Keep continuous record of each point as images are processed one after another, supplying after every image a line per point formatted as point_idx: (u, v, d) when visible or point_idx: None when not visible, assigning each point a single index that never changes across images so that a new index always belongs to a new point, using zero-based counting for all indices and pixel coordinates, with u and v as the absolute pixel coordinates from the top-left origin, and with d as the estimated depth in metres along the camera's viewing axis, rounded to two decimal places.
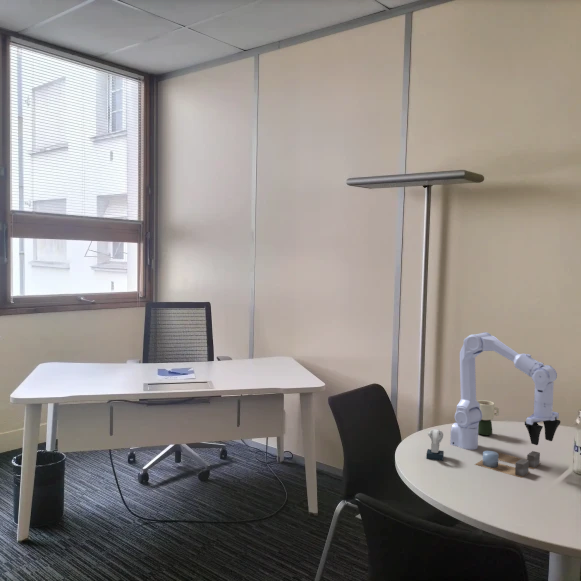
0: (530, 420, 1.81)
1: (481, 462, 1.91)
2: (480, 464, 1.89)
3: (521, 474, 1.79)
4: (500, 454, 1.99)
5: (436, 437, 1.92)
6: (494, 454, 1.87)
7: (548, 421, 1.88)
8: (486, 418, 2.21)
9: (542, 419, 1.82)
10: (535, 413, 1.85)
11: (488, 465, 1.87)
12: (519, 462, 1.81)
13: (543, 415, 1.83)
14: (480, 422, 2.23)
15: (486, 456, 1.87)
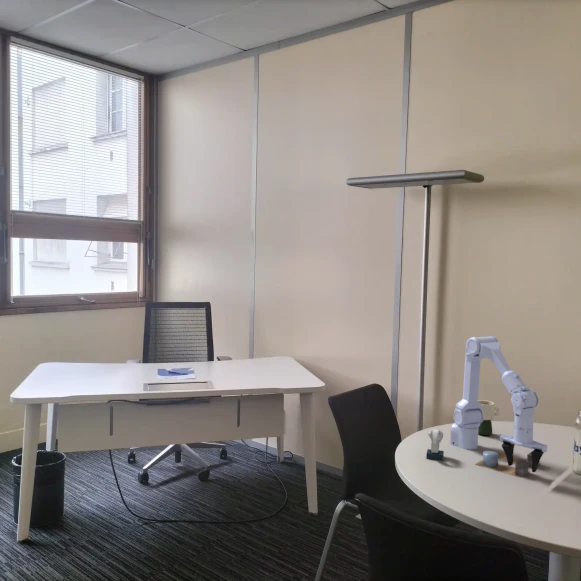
0: None
1: (481, 462, 1.91)
2: (480, 464, 1.89)
3: (521, 474, 1.79)
4: (500, 454, 1.99)
5: (436, 437, 1.92)
6: (494, 454, 1.87)
7: None
8: (486, 418, 2.21)
9: (510, 440, 1.82)
10: None
11: (488, 465, 1.87)
12: (519, 462, 1.81)
13: (514, 438, 1.81)
14: None
15: (486, 456, 1.87)
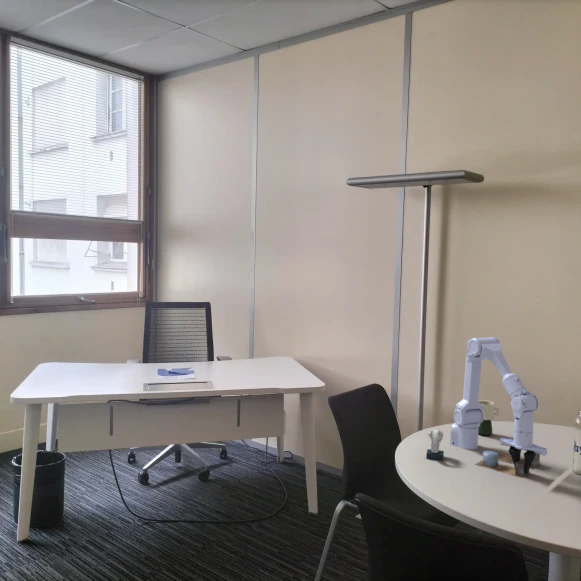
0: None
1: (481, 462, 1.91)
2: (480, 464, 1.89)
3: (521, 474, 1.79)
4: (500, 454, 1.99)
5: (436, 437, 1.92)
6: (494, 454, 1.87)
7: None
8: (486, 418, 2.21)
9: (510, 444, 1.82)
10: None
11: (488, 465, 1.87)
12: (519, 462, 1.81)
13: (514, 441, 1.81)
14: None
15: (486, 456, 1.87)
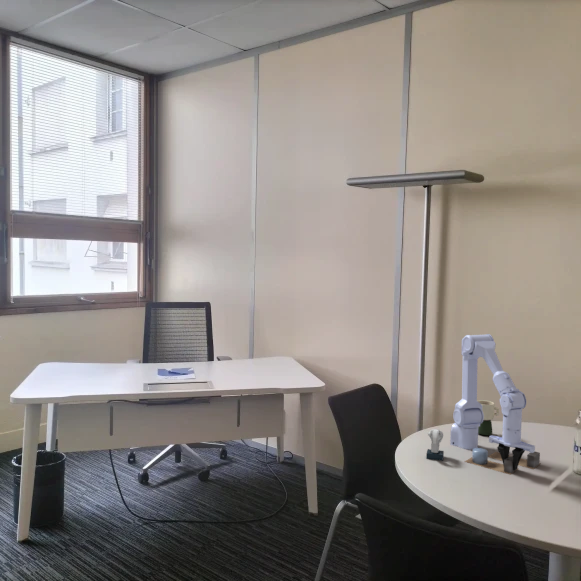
0: None
1: (471, 459, 1.94)
2: (470, 461, 1.92)
3: (509, 471, 1.82)
4: None
5: (436, 437, 1.92)
6: (483, 452, 1.90)
7: None
8: (486, 418, 2.21)
9: (499, 441, 1.84)
10: None
11: (477, 462, 1.89)
12: (508, 459, 1.83)
13: (502, 438, 1.84)
14: None
15: (475, 453, 1.90)
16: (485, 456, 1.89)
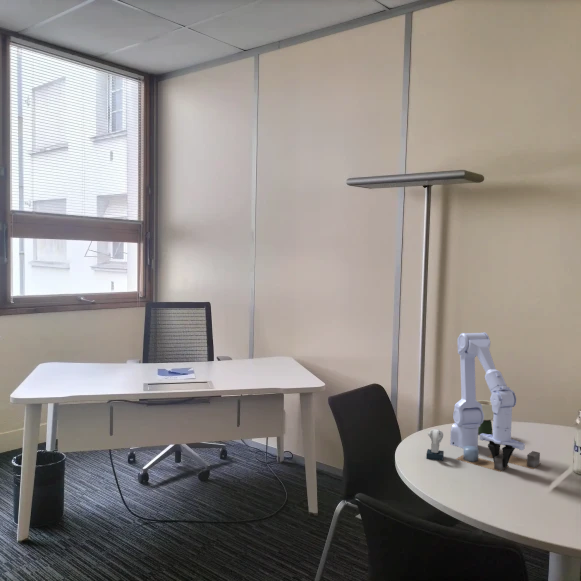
0: None
1: (462, 457, 1.96)
2: (461, 459, 1.94)
3: (500, 468, 1.84)
4: None
5: (436, 437, 1.92)
6: (474, 449, 1.92)
7: None
8: (486, 418, 2.21)
9: (489, 439, 1.86)
10: None
11: (468, 460, 1.92)
12: (498, 456, 1.85)
13: (493, 436, 1.86)
14: None
15: (466, 451, 1.92)
16: (476, 454, 1.91)
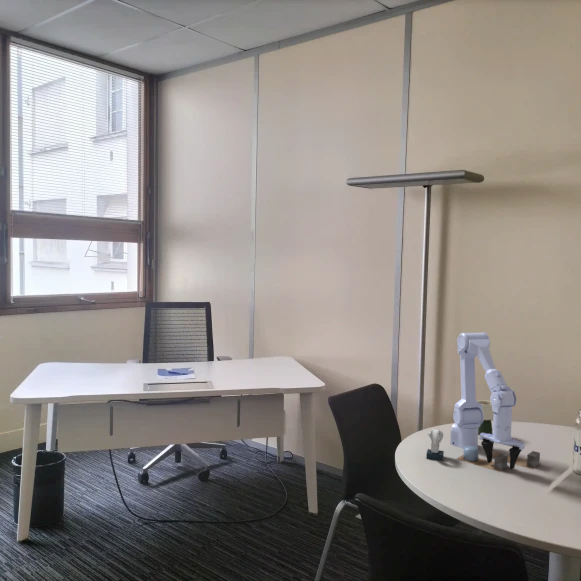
0: None
1: (462, 457, 1.96)
2: (461, 459, 1.94)
3: (500, 468, 1.84)
4: None
5: (436, 437, 1.92)
6: (474, 449, 1.92)
7: None
8: (486, 418, 2.21)
9: (489, 438, 1.86)
10: None
11: (468, 460, 1.92)
12: (498, 456, 1.85)
13: (493, 435, 1.86)
14: None
15: (466, 451, 1.92)
16: (476, 454, 1.91)
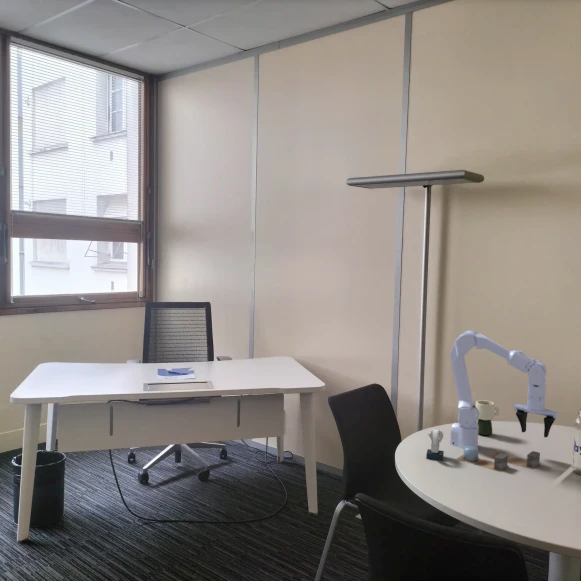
0: None
1: (462, 457, 1.96)
2: (461, 459, 1.94)
3: (500, 468, 1.84)
4: None
5: (436, 437, 1.92)
6: (474, 449, 1.92)
7: None
8: (486, 418, 2.21)
9: (524, 409, 1.96)
10: None
11: (468, 460, 1.92)
12: (498, 456, 1.85)
13: (527, 406, 1.95)
14: (480, 422, 2.23)
15: (466, 451, 1.92)
16: (476, 454, 1.91)
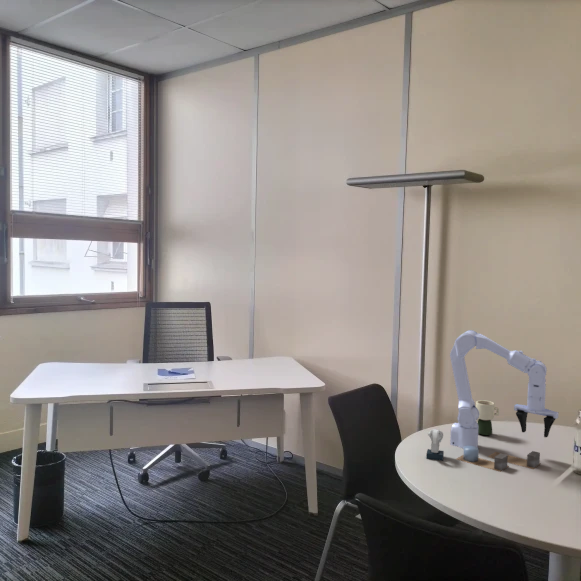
0: None
1: (462, 457, 1.96)
2: (461, 459, 1.94)
3: (500, 468, 1.84)
4: None
5: (436, 437, 1.92)
6: (474, 449, 1.92)
7: None
8: (486, 418, 2.21)
9: (524, 409, 1.96)
10: None
11: (468, 460, 1.92)
12: (498, 456, 1.85)
13: (527, 406, 1.95)
14: (480, 422, 2.23)
15: (466, 451, 1.92)
16: (476, 454, 1.91)
